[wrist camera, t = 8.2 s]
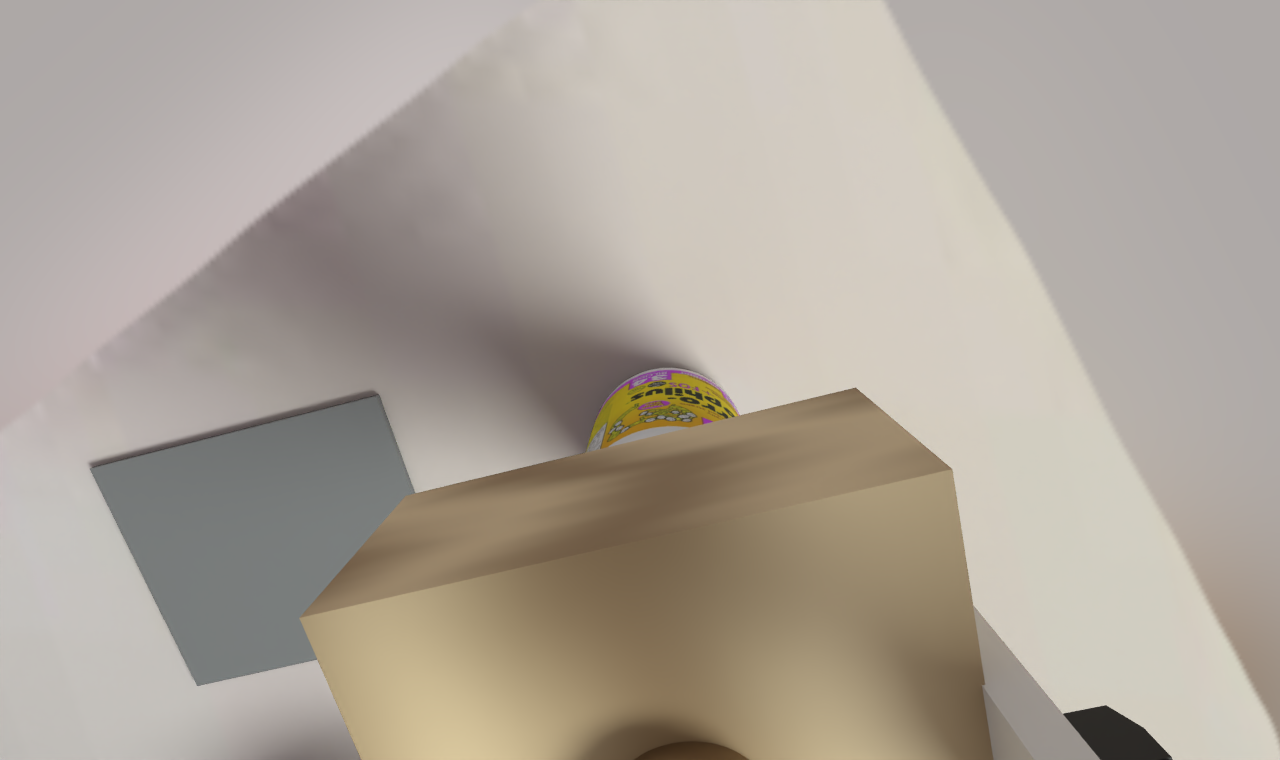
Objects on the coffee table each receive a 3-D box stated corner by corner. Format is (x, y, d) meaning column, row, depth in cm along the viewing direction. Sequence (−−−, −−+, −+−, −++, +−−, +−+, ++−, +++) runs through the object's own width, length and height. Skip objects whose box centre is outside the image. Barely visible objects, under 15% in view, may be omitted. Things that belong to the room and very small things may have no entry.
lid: (536, 845, 17) (485, 1125, 12) (405, 495, 14) (269, 651, 9) (926, 770, 16) (1057, 1034, 11) (855, 387, 14) (979, 492, 8)
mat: (201, 681, 33) (197, 686, 33) (95, 466, 30) (89, 468, 30) (463, 623, 32) (461, 627, 32) (378, 394, 29) (376, 396, 29)
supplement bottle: (765, 396, 29) (852, 535, 16) (706, 523, 30) (744, 738, 18) (624, 340, 28) (603, 439, 16) (571, 472, 30) (514, 657, 17)
